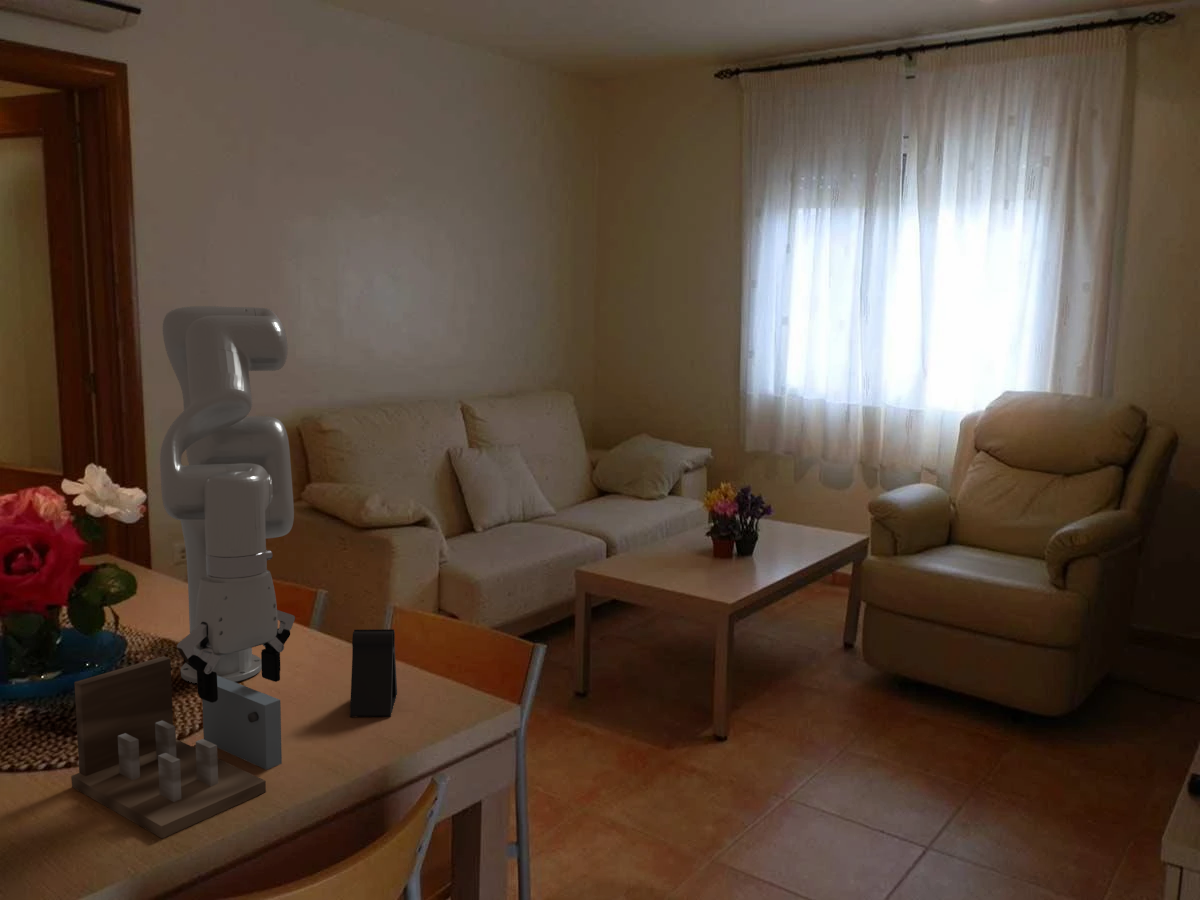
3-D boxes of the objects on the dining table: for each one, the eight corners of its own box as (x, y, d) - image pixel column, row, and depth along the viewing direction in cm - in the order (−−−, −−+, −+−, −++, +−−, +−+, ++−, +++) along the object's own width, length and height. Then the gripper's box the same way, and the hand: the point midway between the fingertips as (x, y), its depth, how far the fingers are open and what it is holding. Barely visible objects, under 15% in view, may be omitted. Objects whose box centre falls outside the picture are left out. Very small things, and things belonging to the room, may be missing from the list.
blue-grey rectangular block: (198, 743, 139) (196, 682, 138) (218, 736, 142) (217, 675, 140) (261, 772, 131) (259, 707, 130) (281, 764, 134) (280, 699, 132)
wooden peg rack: (71, 786, 126) (66, 684, 124) (174, 748, 137) (170, 654, 135) (162, 838, 114) (157, 726, 112) (265, 791, 126) (263, 689, 124)
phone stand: (390, 717, 149) (389, 640, 147) (349, 718, 149) (348, 640, 147) (397, 694, 158) (397, 621, 156) (359, 694, 157) (358, 621, 156)
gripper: (273, 550, 142) (276, 666, 144) (159, 573, 128) (165, 702, 130) (308, 557, 137) (310, 677, 139) (194, 582, 123) (199, 715, 125)
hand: (240, 689), depth 135 cm, fingers open, 9 cm apart
